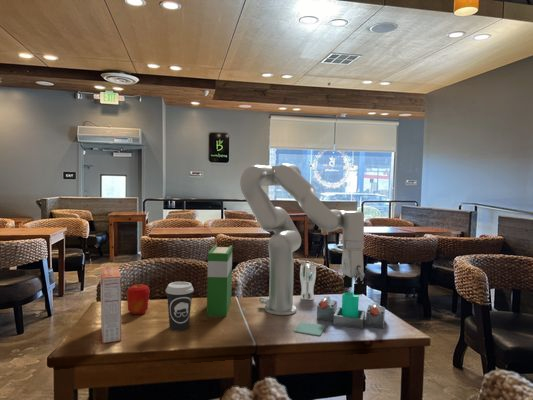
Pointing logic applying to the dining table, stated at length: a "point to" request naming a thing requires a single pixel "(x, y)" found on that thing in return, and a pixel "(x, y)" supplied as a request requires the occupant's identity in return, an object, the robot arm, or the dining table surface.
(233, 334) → the dining table surface
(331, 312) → the housing
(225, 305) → the hardback book
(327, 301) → the left plunger
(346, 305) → the candle
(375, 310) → the right plunger
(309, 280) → the beer glass
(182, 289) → the coffee cup
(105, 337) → the cracker box
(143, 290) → the apple
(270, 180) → the robot arm
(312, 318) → the dining table surface
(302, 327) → the pad
